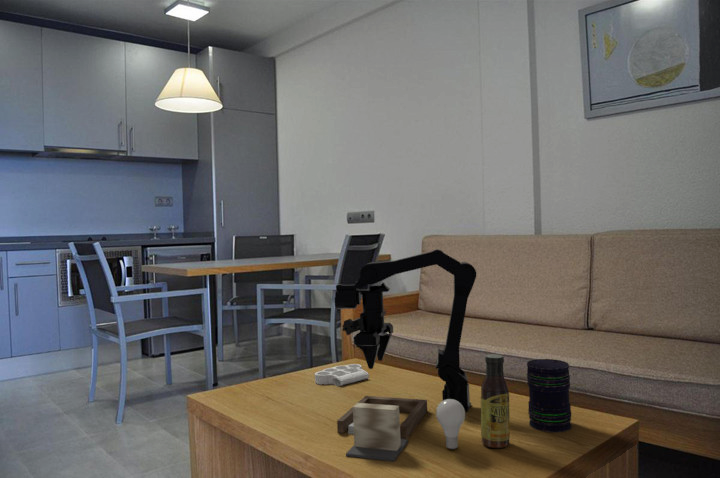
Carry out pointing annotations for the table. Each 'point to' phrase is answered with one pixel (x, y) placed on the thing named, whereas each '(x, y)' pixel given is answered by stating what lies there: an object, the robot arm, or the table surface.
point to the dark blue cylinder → (549, 395)
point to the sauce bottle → (495, 404)
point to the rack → (405, 405)
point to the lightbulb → (450, 420)
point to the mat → (376, 452)
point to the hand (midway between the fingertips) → (375, 364)
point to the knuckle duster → (341, 375)
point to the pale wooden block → (376, 426)
